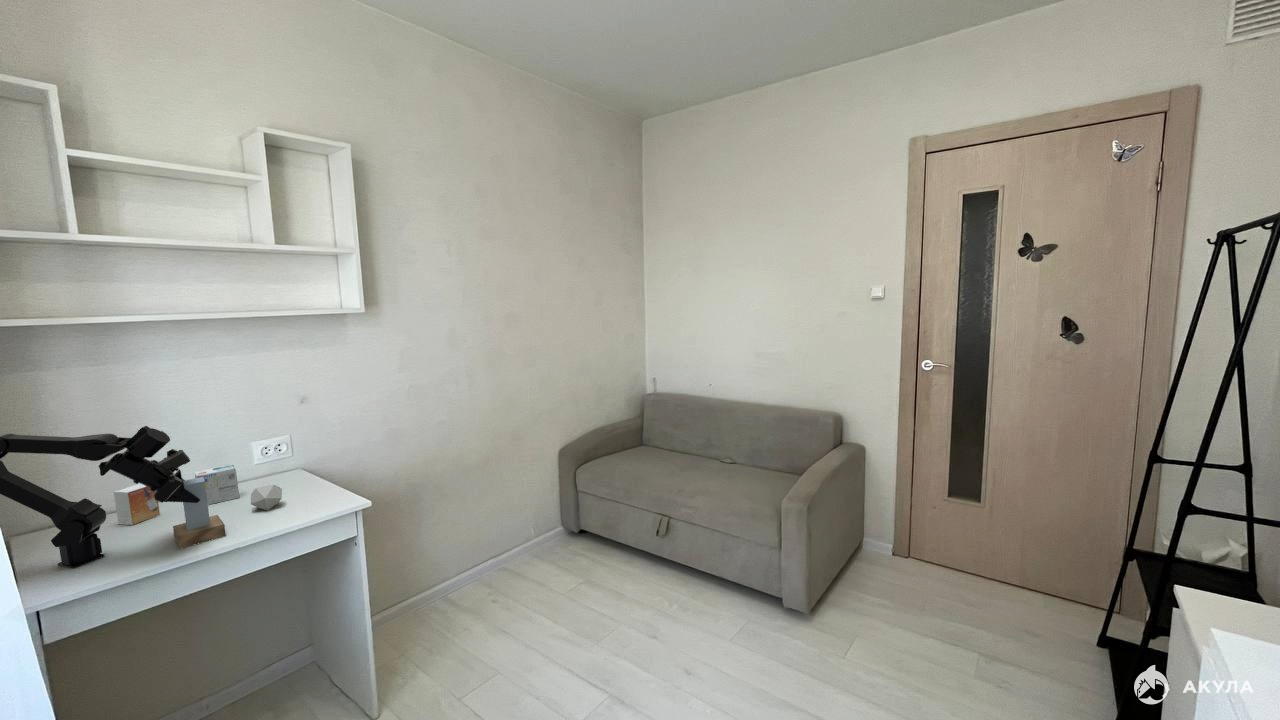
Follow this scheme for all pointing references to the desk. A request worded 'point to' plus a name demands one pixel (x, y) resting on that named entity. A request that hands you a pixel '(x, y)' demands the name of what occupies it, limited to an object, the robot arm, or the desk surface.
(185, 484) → the slate block
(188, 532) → the walnut base block
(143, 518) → the small box
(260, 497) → the die
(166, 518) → the desk surface
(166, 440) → the robot arm
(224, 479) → the light bulb box
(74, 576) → the desk surface
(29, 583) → the desk surface
